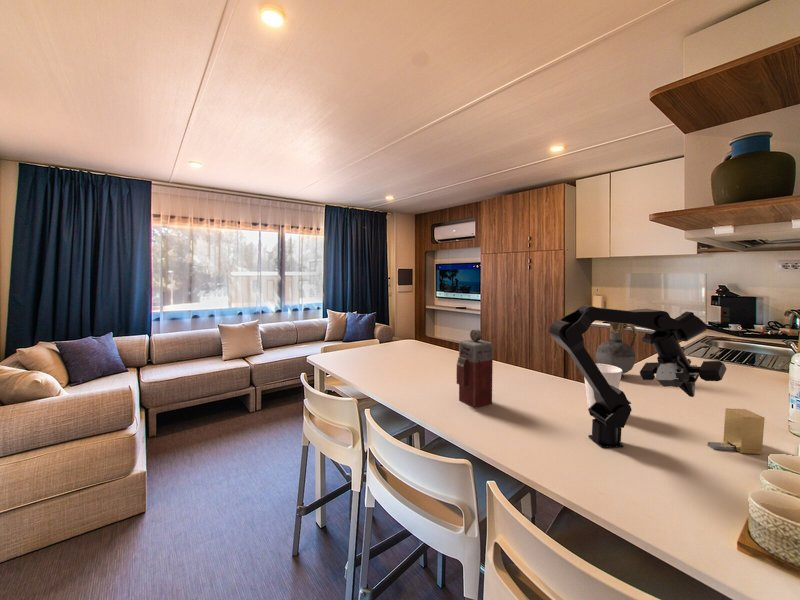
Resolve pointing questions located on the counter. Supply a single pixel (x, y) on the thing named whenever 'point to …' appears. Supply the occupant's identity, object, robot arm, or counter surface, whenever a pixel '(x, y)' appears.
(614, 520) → the counter surface
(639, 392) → the counter surface
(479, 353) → the dark red tall piece
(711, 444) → the rig
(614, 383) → the cup
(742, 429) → the tan rectangular block
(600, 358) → the pitcher
